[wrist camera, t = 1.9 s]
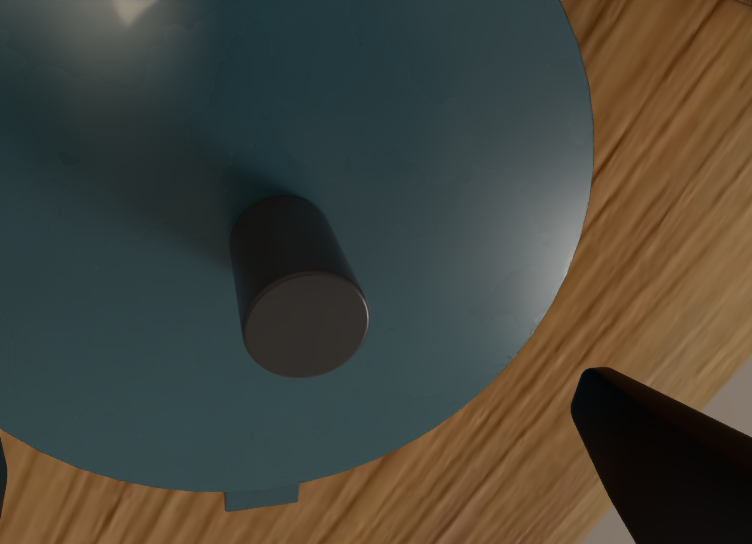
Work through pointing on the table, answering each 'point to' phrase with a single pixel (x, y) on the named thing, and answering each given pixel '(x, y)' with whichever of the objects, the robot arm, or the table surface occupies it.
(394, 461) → the table surface
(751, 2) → the stuffed squirrel
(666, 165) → the table surface
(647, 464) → the robot arm
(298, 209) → the lid
